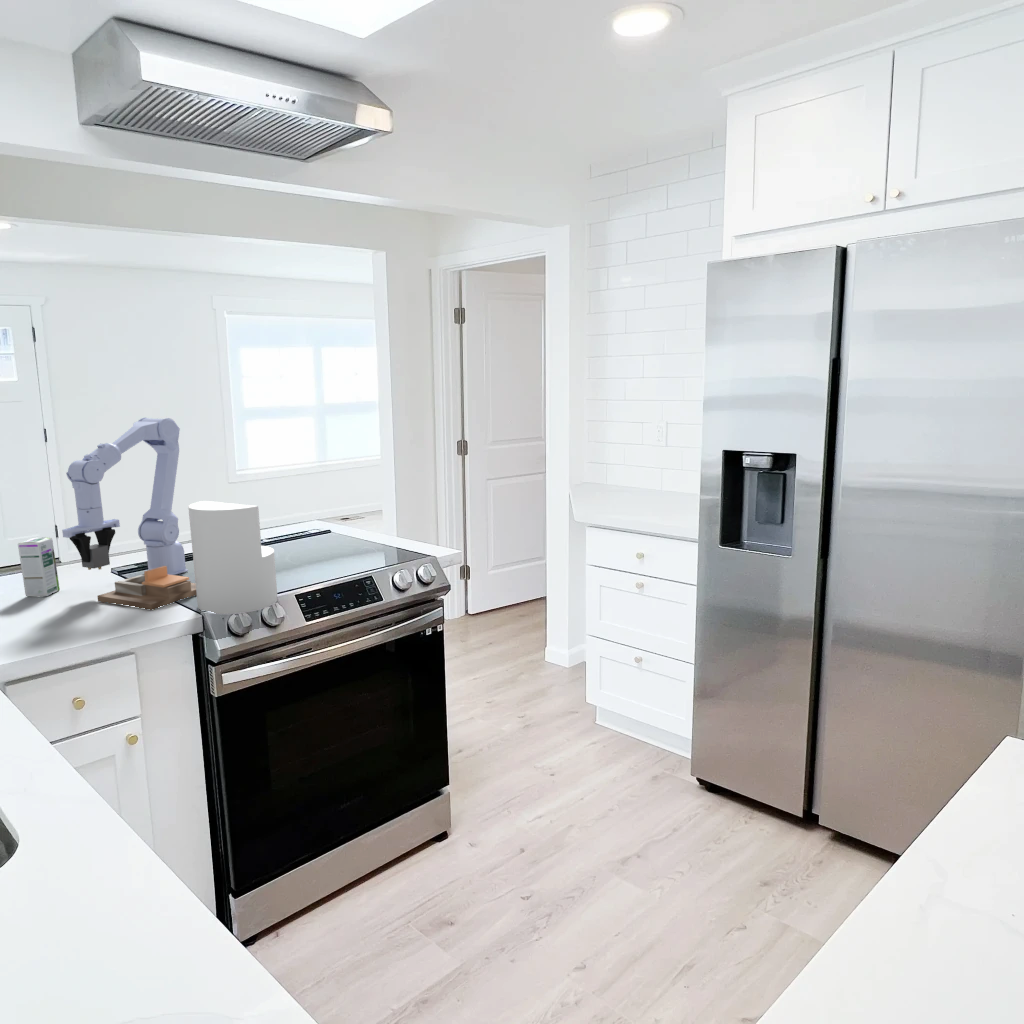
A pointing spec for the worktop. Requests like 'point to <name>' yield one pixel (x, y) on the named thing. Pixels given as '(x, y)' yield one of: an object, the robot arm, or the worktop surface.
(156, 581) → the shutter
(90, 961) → the worktop surface
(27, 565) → the syrup box
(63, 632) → the worktop surface
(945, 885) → the worktop surface
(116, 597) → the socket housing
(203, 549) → the cylinder
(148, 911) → the worktop surface
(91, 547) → the plug
